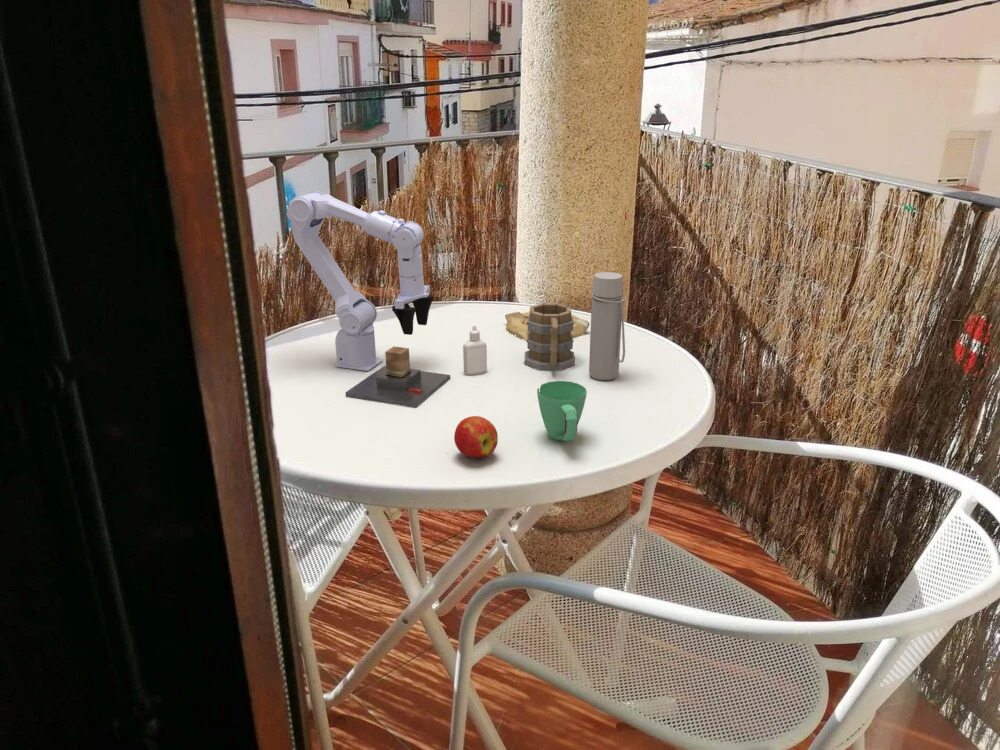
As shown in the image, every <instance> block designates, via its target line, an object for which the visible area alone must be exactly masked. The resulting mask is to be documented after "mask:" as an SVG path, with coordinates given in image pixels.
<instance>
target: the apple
mask: <svg viewBox="0 0 1000 750" xmlns="http://www.w3.org/2000/svg"><path fill="white" fill-rule="evenodd" d="M454 431H455V432H454V434H453V436H454V437H453V438H454V440H453V441H454V443H455V446H456V448H457V449H458V451H459V453H460V454H462V455H464V456H465V457H467V458H470V459H472V460H473V459H474V460H475V459H476V460H479V459H485V458H488V457H489V456H490V455H491V454H493V453H494V452H495V449H496V448H497V446H498V443H499V441H498V440H499V437H498V431H497V429H496V426H494V424H493V423H492V421H490V420H488V419H487V418H485V417H483V416H479V415H474V416H468V417H465V418H463V419H462V420H460V421H459V423H458V424H457V426H456V427H455V429H454Z"/></svg>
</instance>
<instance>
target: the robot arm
mask: <svg viewBox="0 0 1000 750" xmlns="http://www.w3.org/2000/svg"><path fill="white" fill-rule="evenodd" d="M286 217H287V218H288V220H289V221H290V225H291V230H292V231H291V232H292V237H293V240H294V242H295V243H296V244H297V246H298V248H299V249H300V251H301V253H302V254H303V256H304V257H305V258H306V260H307V262H308V263H309V264H310V266H311V268H312V269H313V270H314V272H315V273H316V275H317V276H318V278H319V280H320V282H321V283H322V284H323V286H324V287H325V289H326V290H327V291H328V293H329V294H330V296H331V297H332V299H333V300H334V301H335V305H334V306H335V308H334V312H335V314H336V315H337V318H338V320H339V325H340V327H341V329H339V330H338V332H337V333H336V336H335V339H334V340H335V342H334V345H335V356H336V364H335V367H337V368H344V369H350V370H355V371H356V370H357V371H365V372H368V371H370V370H371V369H373V368H376V366H378V365H379V364H381V363H382V362H383V361H384V359H383V358H379V357H378V358H377V352H376V351H377V350H376V339H375V338H376V337H375V336H376V335H375V327H374V322H375V321H376V319H377V316H378V311H377V308H376V306H375V305H374V304H373V303H372V302H371V301H369V300H368V299H366V297H365V295H364V294H363V293H361V292H359V291H357V290H356V289H354V287H353V286H352V284H351V282H350V281H349V280H348V278H347V277H346V275H345V273H344V272H343V271H342V269H341V268H340V266H339V265H338V263H337V262H336V260H335V258H334V257H333V256H332V255H333V254H331V252H330V251H329V249H328V248H327V246H326V245H325V243H324V242H323V240H322V239H321V237H320V235H319V233H320V230H321V225H322V223H323V221H324V219H325V218H331V217H333V218H337V219H339V220H342V221H345V222H348V223H351V224H355V225H357V226H360V227H363V228H364V230H365V232H366V233H367V235H370V236H372V237H375V238H378V239H380V240H383V241H384V242H387V243H390V244H393V246H394V247H395V249H396V250H397V264H398V277H399V278H398V279H399V290H400V292H399V294H398V296H397V298H396V299H394V305H392V307H391V309H392V310H391V311H392V312H393V314H395V316H396V318H397V320H398V322H399V325H400V327H401V332H402V333H403V335H409V336H411V335H413V333H414V317H416V322H417V325H418V326H426V325H427V324H428V319H429V312H430V309H431V305H432V303H433V302H434V299H435V298H434V295H432V294H431V289H430V287H431V285H429V284H426V285H425V281H424V266H423V264H424V263H423V252H422V244H421V243H422V242H423V240H424V237H425V233H424V230H423V228H422V226H421V225H420V224H419V223H416V222H415V221H414V220H413V221H412V220H411V221H406V222H405V219H404V218H400V217H399V219H398V218H395V217H393V216H391V215H388V214H387V213H386V211H385V210H382V209H381V210H374V211H372V212H370V213H369V212H366V211H364V210H362V209H360V208H357V207H355V206H353V205H351V204H350V203H348V202H347V203H346V202H344V201H342V200H339V199H338V198H335V197H334V196H332V195H330V194H326V193H325V194H324V193H323V192H321V191H318V190H317V191H316V190H315V191H311V192H309V193H306V194H304V195H303V194H302V195H299V196H294V197H293V198H292V199H291V200H290V202H289V203H288V208H287V211H286ZM410 303H412V305H413V307H411V305H409V304H410Z"/></svg>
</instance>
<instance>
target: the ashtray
mask: <svg viewBox="0 0 1000 750" xmlns="http://www.w3.org/2000/svg"><path fill="white" fill-rule="evenodd" d="M529 315H530V311H528V312H522V313H521V312H520V311H515V312H512V313H511V312H510V313H508V314H505V316H504V317H505V320H506V321H507V324H506V327H505V330H506V331H508V332H509V333H508V332H507V333H508V334H510V333H511V334H510V335H512V334H513V335H512V336H514V335H516V336H517V337H516V336H515V337H516V338H518V337H519V338H518V339H520V338H521V339H520V340H522V339H524V340H523V341H525V340H527V336H528V334H530V331H528V325H527V324H526V322H528V316H529ZM571 316H572V317H573V322H574V324H573V331H571V334H572V338H573V339H575V338H578V337H582V336H584V335H585V334H586V333H587V330H588V329H589V327H590V325H591V322H589V321H588V320H585V319H582V318H579V317H578V316H576V315H573V314H571Z"/></svg>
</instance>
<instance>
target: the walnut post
mask: <svg viewBox="0 0 1000 750" xmlns="http://www.w3.org/2000/svg"><path fill="white" fill-rule="evenodd" d="M384 354H385V356H384V357H385V366H386V370H387V375H390V376H397V377H403V376H404V375H406V374H407V373H408V372H410V369H411V363H410V362H411V360H410V358H411V357H410V348H409V347H402V346H391V347H390V348H389V349H387V350H386V351H384Z"/></svg>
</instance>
